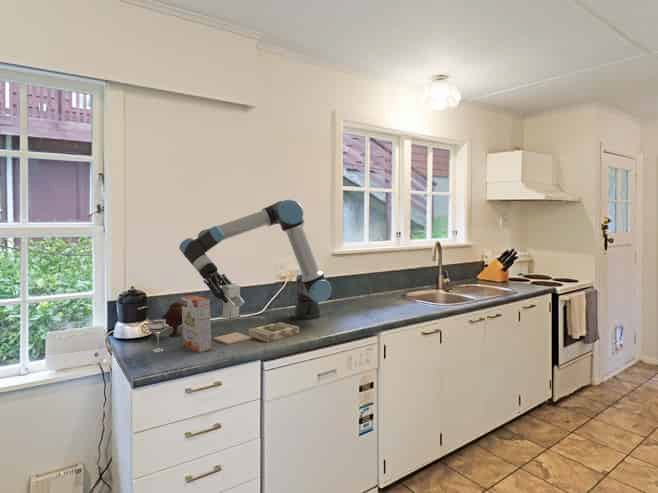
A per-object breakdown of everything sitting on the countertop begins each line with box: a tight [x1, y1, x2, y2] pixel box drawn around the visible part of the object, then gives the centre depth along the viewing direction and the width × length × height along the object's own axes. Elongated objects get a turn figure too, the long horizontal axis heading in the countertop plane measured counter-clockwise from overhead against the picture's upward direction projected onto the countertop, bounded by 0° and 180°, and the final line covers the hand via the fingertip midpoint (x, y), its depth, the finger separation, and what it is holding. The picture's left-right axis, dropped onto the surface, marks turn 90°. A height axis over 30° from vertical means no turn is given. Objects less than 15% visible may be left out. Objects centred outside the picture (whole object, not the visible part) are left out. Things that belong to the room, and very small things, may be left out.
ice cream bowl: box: [161, 301, 183, 338], centre depth 189 cm, size 11×11×15 cm
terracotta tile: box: [212, 331, 253, 346], centre depth 183 cm, size 12×12×1 cm
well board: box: [248, 321, 300, 343], centre depth 189 cm, size 18×14×3 cm
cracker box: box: [181, 294, 212, 354], centre depth 170 cm, size 14×6×21 cm, turn 45°
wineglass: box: [148, 318, 168, 353], centre depth 168 cm, size 7×7×12 cm
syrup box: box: [221, 283, 241, 320], centre depth 182 cm, size 6×6×14 cm
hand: (237, 305), depth 180 cm, fingers closed on syrup box, 7 cm apart
